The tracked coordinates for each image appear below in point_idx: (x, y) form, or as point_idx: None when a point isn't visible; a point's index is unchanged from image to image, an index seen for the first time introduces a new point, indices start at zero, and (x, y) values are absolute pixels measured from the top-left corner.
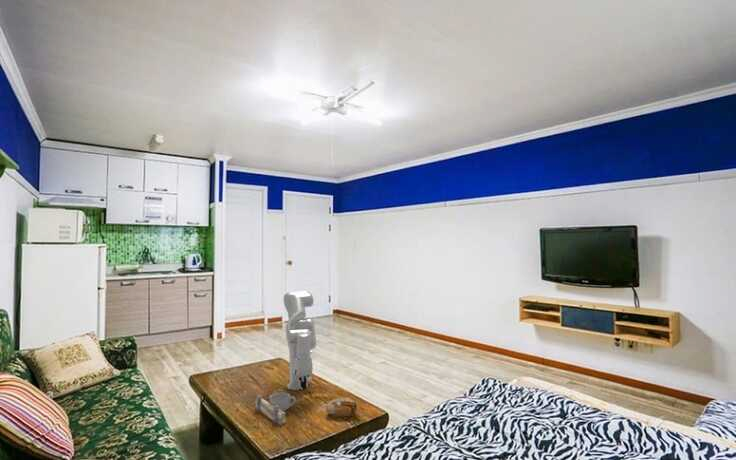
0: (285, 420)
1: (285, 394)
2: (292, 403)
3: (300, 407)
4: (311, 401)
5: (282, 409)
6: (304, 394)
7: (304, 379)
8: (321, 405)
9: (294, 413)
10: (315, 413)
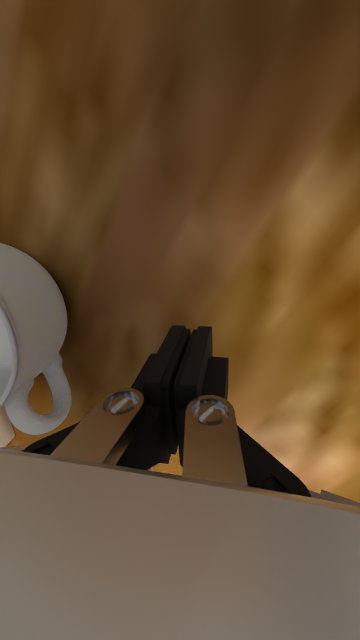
0: (5, 445)
1: (1, 300)
2: (53, 397)
3: (147, 356)
4: (262, 333)
5: (2, 370)
6: (325, 147)
7: (182, 458)
8: (267, 427)
9: (84, 392)
10: (175, 468)
